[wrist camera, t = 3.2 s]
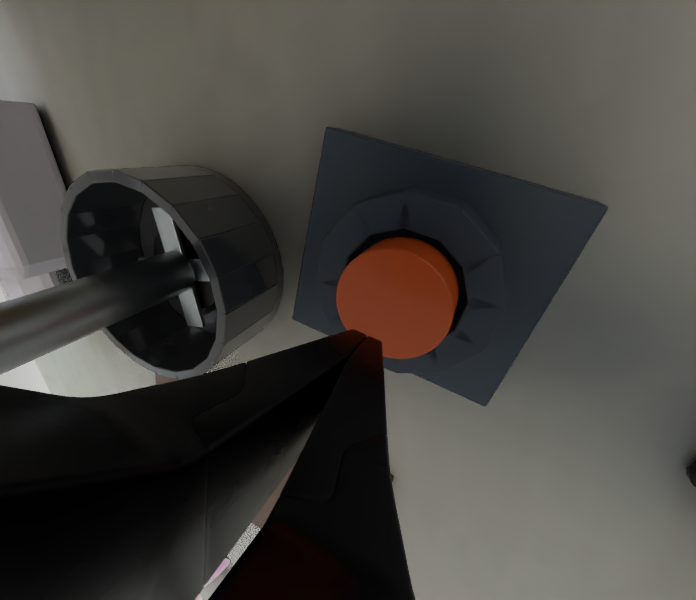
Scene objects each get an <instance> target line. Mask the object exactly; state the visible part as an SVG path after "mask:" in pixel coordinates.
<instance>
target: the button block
mask: <svg viewBox="0 0 696 600" xmlns="http://www.w3.org/2000/svg"><path fill="white" fill-rule="evenodd" d="M607 210H608V207H607V206H606V205H604V204H602V203H600V202H598V201H594V200H591V199H587V198H584V197H580V196H577V195H573V194H570V193H566V192H563V191H559V190H556V189H552V188H548V187H545V186H541V185H538V184H534V183H531V182H527V181H524V180H520V179H517V178H513V177H510V176H506V175H502V174H499V173H495V172H492V171H488V170H485V169H481V168H478V167H474V166H471V165H467V164H464V163H460V162H456V161H453V160H449V159H446V158H442V157H439V156H435V155H432V154H428V153H425V152H421V151H418V150H414V149H410V148H407V147H403V146H400V145H396V144H393V143H389V142H386V141H382V140H379V139H375V138H372V137H368V136H364V135H361V134H357V133H354V132H350V131H347V130H343V129H340V128H333V127H326V130H325V136H324V141H323V147H322V153H321V158H320V164H319V170H318V175H317V181H316V187H315V193H314V198H313V204H312V210H311V215H310V221H309V227H308V232H307V238H306V244H305V250H304V255H303V261H302V267H301V272H300V278H299V284H298V289H297V295H296V301H295V307H294V312H293V319H294V320H296V321H298V322H300V323H302V324H305V325H307V326H309V327H311V328H313V329H316V330H318V331H320V332H322V333H324V334H327V335H329V336H331V335H335V334H338V333H341V332H344V331H347V330H346V328H345V326H344V325H343V323H342V321H341V319H340V316H339V313H338V309H337V304H336V290H337V285H338V281H339V278H340V276H341V274H342V272H343V271H344V269H345V268H346V266H347V265H348V264H349V263H350V262H351V261H352V260H353V259H355V258H356V257H357V256H358V255H360V254H361V253H363V252H364V251H365V250H367V249H368V248H369V247H371V246H372V245H374V244H375V243H377V242H379V241H381V240H384V239H387V238H391V237H412V238H416V239H419V240H422V241H424V242H427V243H429V244H430V245H432V246H434V247H435V248H436V249H438V250H439V251H440V252H441V253H442V254H443V255H444V256H445V257H446V258H447V259H448V261H449V262H450V264H451V265H452V267H453V269H454V271H455V274H456V276H457V281H458V287H459V295H458V302H457V306H456V309H455V313H454V317H453V320H452V324H451V327H450V329H449V331H448V333H447V335H446V337H445V338H444V339H443V341H442V342H441V343H440V344H439V345H438V346H437V347H436V348H434V349H433V350H431V351H430V352H428V353H426V354H424V355H421V356H418V357H414V358H409V359H394V358H388V357H384V356H383V366H384V368H386V369H389V370H391V371H393V372H396V373H412V374H415V375H417V376H419V377H421V378H423V379H425V380H428V381H430V382H432V383H434V384H436V385H439V386H441V387H443V388H445V389H447V390H450V391H452V392H454V393H456V394H458V395H461V396H463V397H465V398H467V399H469V400H472V401H474V402H476V403H478V404H480V405H483V406H486V405H487V404H488V402H489V401H490V399H491V397H492V396H493V394H494V393H495V391H496V389H497V388H498V386H499V384H500V383H501V381H502V380H503V378H504V376H505V375H506V373H507V372H508V370H509V368H510V367H511V365H512V363H513V362H514V360H515V359H516V357H517V355H518V354H519V352H520V351H521V349H522V347H523V346H524V344H525V342H526V341H527V339H528V338H529V336H530V334H531V333H532V331H533V329H534V328H535V326H536V325H537V323H538V321H539V320H540V318H541V317H542V315H543V313H544V312H545V310H546V308H547V307H548V305H549V304H550V302H551V300H552V299H553V297H554V296H555V294H556V292H557V291H558V289H559V287H560V286H561V284H562V283H563V281H564V279H565V278H566V276H567V275H568V273H569V271H570V270H571V268H572V266H573V265H574V263H575V262H576V260H577V258H578V257H579V255H580V254H581V252H582V250H583V249H584V247H585V245H586V244H587V242H588V241H589V239H590V237H591V236H592V234H593V232H594V231H595V229H596V228H597V226H598V224H599V223H600V221H601V220H602V218H603V216H604V215H605V213H606V211H607Z"/></svg>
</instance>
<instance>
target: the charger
mask: <svg viewBox="0 0 696 600" xmlns="http://www.w3.org/2000/svg"><path fill="white" fill-rule="evenodd" d="M66 193H67V191H66V188H65V185H64V183H63V180H62V177H61V174H60V172H59V169H58V166H57V163H56V161H55V158H54V155H53V152H52V150H51V147H50V144H49V141H48V139H47V136H46V133H45V130H44V128H43V125H42V122H41V119H40V117H39V114H38V111H37V108H36V105H35V104H31V103H22V102H12V101H3V100H0V282H1V284H2V286H3V288H4V290H5V292H6V294H7V296H8V298H9V300H12V299H15V298H18V297H22V296H25V295H28V294H31V293H35V292H38V291H41V290H44V289H48V288H51V287H54V286H58V285H61V283H60V281H59V279H58V276H57V274H56V271H57V270H61V269H64V268H67V266H66V262H65V257H64V253H63V248H62V243H61V238H60V213H61V205H62V203H63V200H64V198H65V196H66Z"/></svg>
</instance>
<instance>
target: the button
mask: <svg viewBox="0 0 696 600" xmlns="http://www.w3.org/2000/svg"><path fill="white" fill-rule="evenodd" d="M458 295H459V287H458V281H457V276H456V274H455V271H454V269H453V267H452V265H451V264H450V262H449V261H448V259H447V258H446V257H445V256H444V255H443V254H442V253H441V252H440V251H439V250H438V249H436V248H435V247H434V246H432V245H430V244H429V243H427V242H424V241H422V240H419V239H416V238H412V237H391V238H387V239H384V240H381V241H379V242H377V243H375V244H374V245H372V246H371V247H369V248H368V249H367V250H365V251H364V252H363V253H361V254H360V255H358V256H357V257H356V258H355V259H353V260H352V261H351V262H350V263H349V264H348V265H347V266H346V268H345V269H344V271H343V272H342V274H341V276H340V278H339V281H338V285H337V290H336V304H337V309H338V313H339V316H340V319H341V321H342V323H343V325H344V326H345V328H346V330H351V329H355V330H357V331H359V332H362V333H364V334H366V336H371V337H373V338H375V339H378V340H380V341H381V342H382V347H383V356H384V357H388V358H394V359H409V358H414V357H418V356H421V355H424V354H426V353H428V352H430V351H431V350H433V349H434V348H436V347H437V346H438V345H439V344H440V343H441V342H442V341H443V339H444V338H445V337H446V335H447V333H448V331H449V329H450V327H451V324H452V320H453V317H454V313H455V309H456V306H457V302H458Z"/></svg>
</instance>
